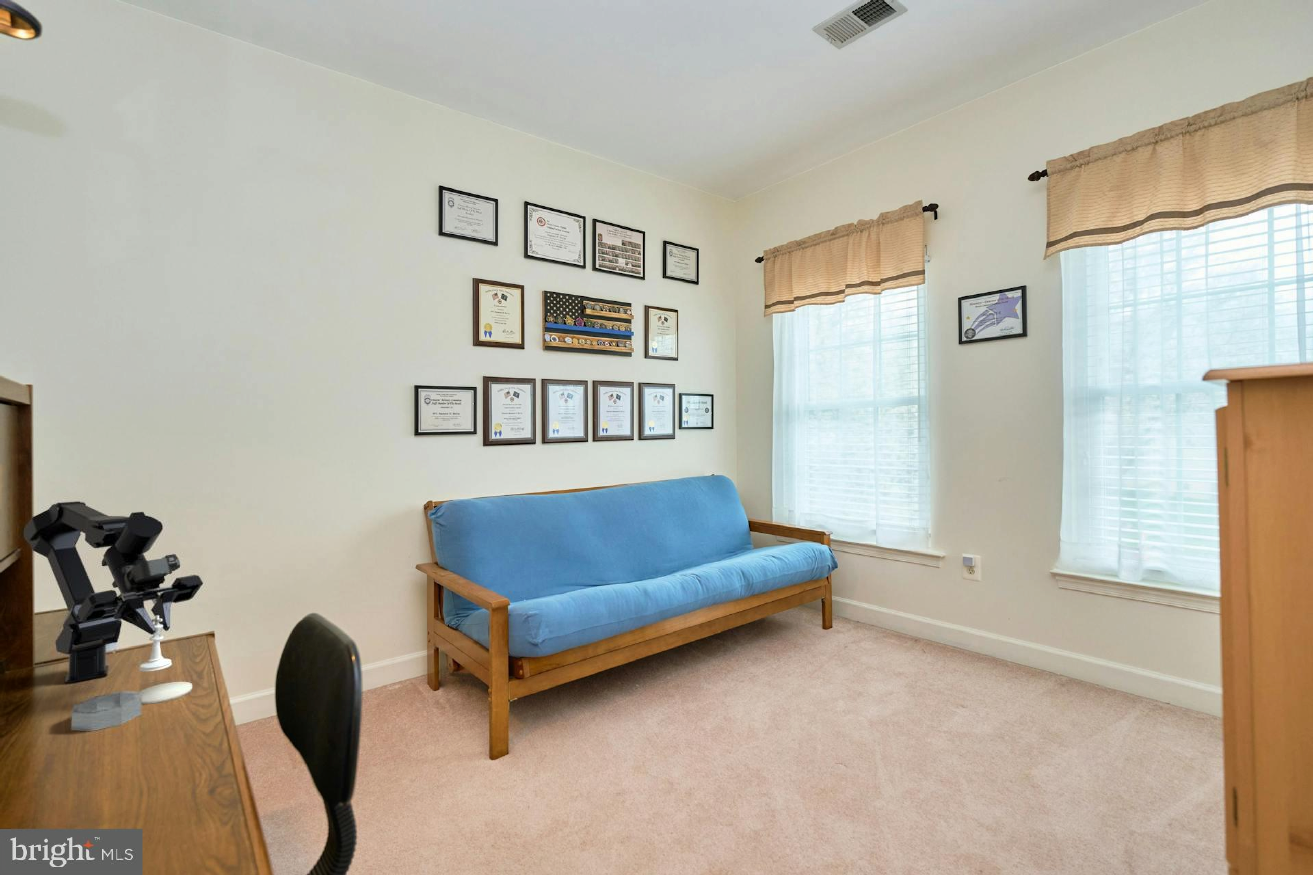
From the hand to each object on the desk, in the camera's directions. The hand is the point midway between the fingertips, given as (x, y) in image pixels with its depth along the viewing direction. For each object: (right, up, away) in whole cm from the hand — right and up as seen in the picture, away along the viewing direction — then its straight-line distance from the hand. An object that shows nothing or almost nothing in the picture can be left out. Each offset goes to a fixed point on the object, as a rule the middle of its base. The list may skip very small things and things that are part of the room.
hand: (160, 631), depth 117 cm
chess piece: (-1, -7, 0) cm, 8 cm away
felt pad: (-1, -13, +2) cm, 13 cm away
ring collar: (-3, -13, -8) cm, 16 cm away
